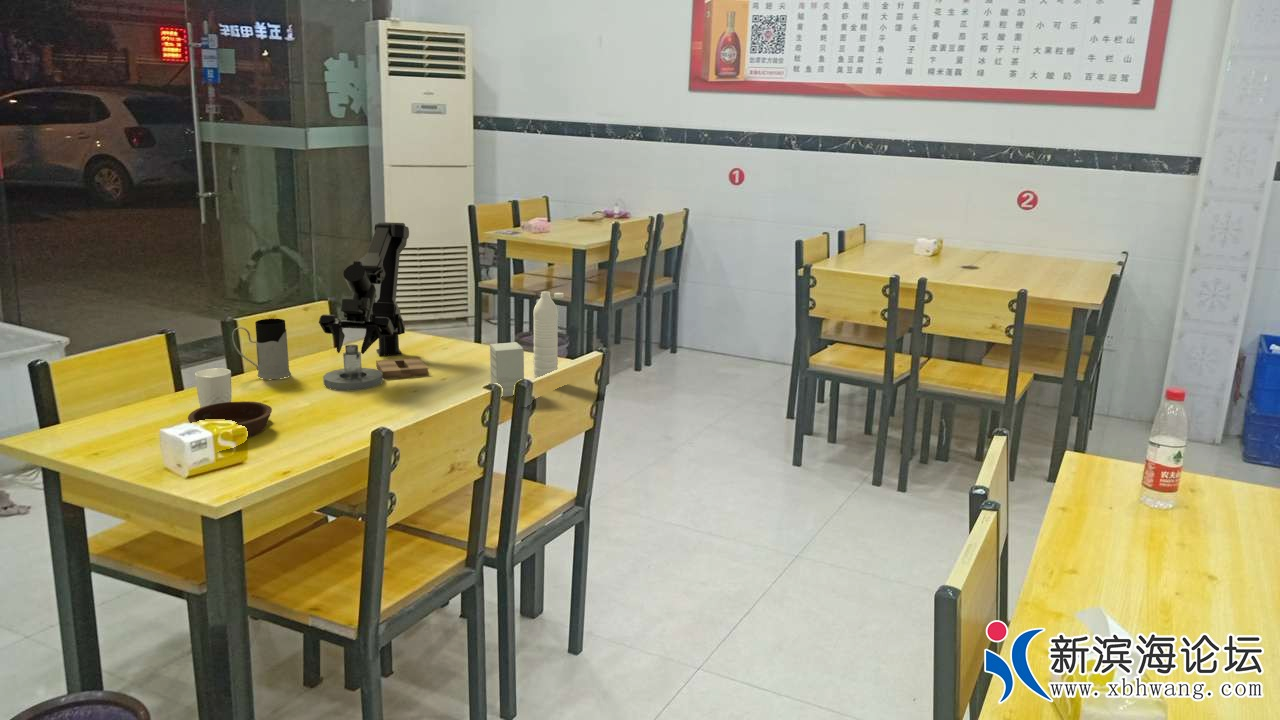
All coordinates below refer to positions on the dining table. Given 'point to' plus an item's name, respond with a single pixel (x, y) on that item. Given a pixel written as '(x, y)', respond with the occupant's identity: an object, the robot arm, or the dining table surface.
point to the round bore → (353, 380)
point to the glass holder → (270, 348)
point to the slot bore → (395, 371)
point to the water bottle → (545, 334)
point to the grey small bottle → (352, 362)
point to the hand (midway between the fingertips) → (350, 352)
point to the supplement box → (506, 365)
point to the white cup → (213, 386)
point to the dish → (236, 414)
